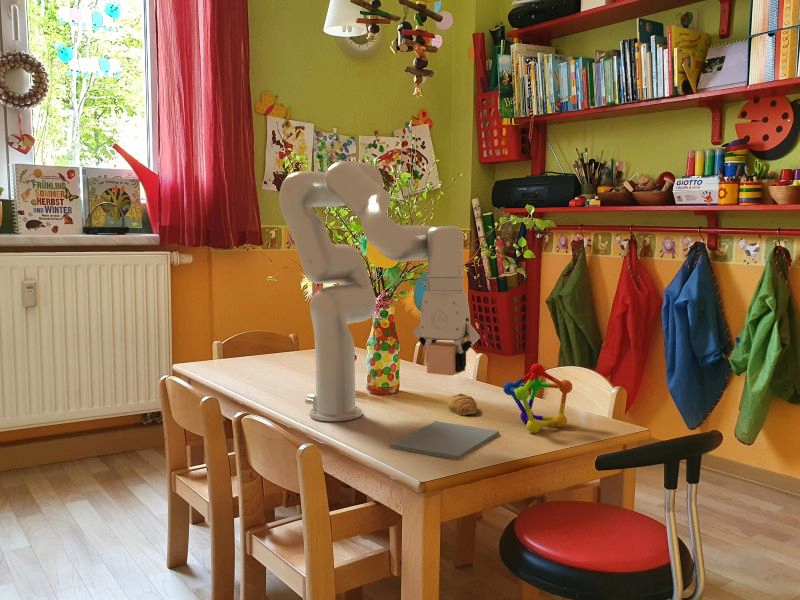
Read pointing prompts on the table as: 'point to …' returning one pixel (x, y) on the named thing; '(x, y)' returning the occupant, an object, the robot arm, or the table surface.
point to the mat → (445, 440)
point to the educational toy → (522, 394)
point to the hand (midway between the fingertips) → (446, 368)
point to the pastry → (462, 404)
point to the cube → (441, 358)
